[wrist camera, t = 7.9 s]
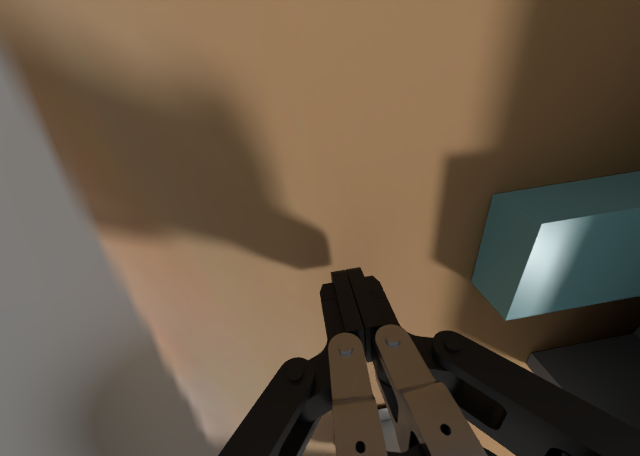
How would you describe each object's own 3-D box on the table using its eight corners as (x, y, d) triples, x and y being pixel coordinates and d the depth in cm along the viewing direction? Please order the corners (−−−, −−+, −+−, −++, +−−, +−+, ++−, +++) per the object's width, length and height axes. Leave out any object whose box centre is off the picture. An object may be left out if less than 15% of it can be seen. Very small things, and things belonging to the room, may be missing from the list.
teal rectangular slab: (761, 151, 14) (865, 169, 12) (692, 243, 17) (762, 273, 15) (492, 194, 14) (541, 223, 11) (471, 282, 17) (505, 320, 14)
